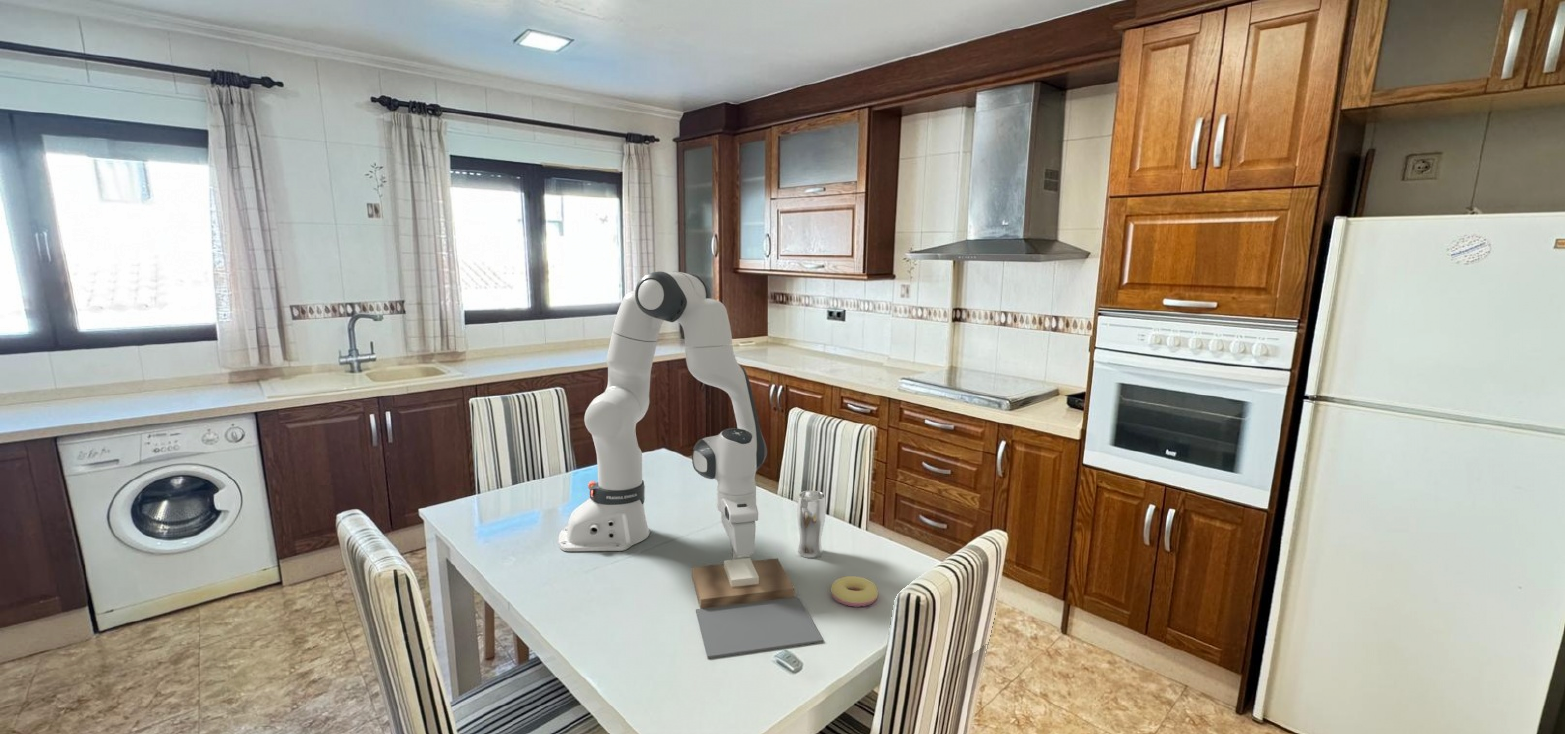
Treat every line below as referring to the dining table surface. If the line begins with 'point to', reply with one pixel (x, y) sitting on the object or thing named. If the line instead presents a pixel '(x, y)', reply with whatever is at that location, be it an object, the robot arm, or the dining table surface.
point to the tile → (741, 572)
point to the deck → (719, 592)
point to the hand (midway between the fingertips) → (736, 557)
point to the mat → (756, 627)
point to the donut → (854, 591)
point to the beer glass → (811, 522)
